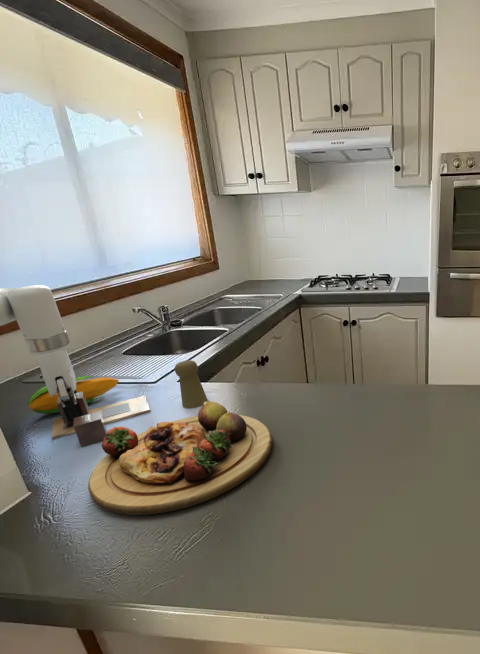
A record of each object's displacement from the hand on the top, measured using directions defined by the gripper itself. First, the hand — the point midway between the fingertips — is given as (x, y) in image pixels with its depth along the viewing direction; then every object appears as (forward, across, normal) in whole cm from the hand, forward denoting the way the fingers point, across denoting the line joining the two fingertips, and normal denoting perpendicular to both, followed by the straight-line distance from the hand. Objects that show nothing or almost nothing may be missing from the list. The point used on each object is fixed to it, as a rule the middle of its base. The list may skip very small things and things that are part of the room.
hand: (76, 415), depth 100 cm
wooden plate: (+2, +36, +18) cm, 40 cm away
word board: (+2, 0, +5) cm, 5 cm away
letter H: (0, 0, 0) cm, 0 cm away
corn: (+2, -13, 0) cm, 13 cm away
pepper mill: (+2, +8, +25) cm, 26 cm away
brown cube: (+2, +12, +3) cm, 13 cm away
